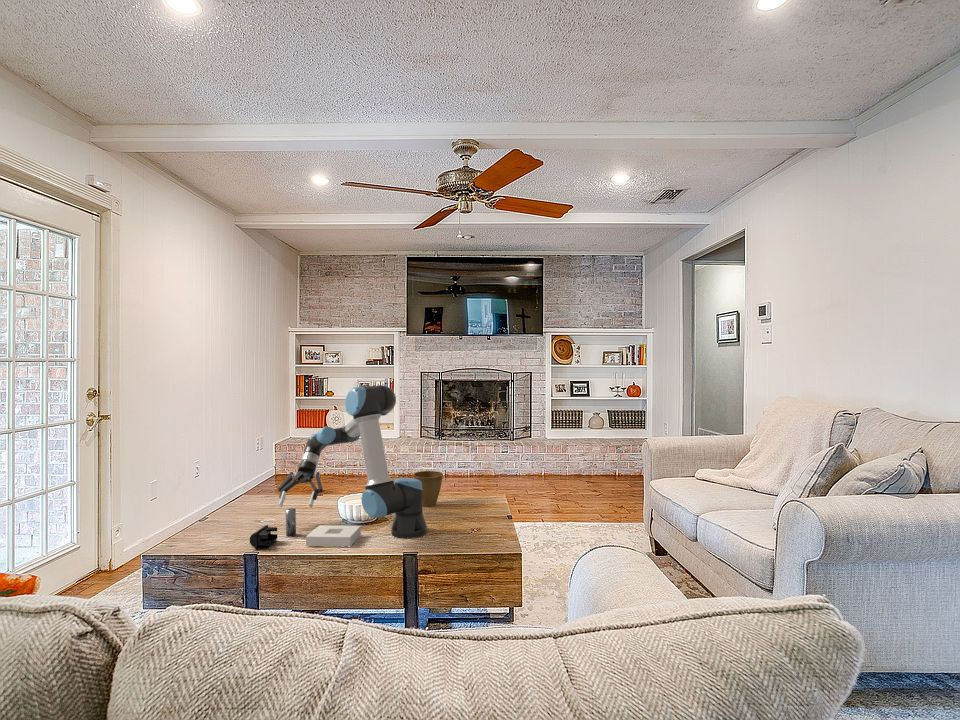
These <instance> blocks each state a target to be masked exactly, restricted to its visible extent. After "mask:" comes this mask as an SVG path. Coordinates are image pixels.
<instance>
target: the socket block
mask: <svg viewBox="0 0 960 720" xmlns="http://www.w3.org/2000/svg"><path fill="white" fill-rule="evenodd" d="M361 531H362V529H361V525H321V524H320V525H318V526H317V527H316V528H314V529H313V530H312V531H311V532H310V533H309V534H307V536H305V541H306V542H305V543H306V544H305V545H306V546H308V547H309V546H351V545H352V544H353V543H356V542H357V540H358V539H359V538H360V537H361V536H360V535H362V534H361V533H362V532H361ZM359 536H360V537H359ZM358 537H359V538H358ZM357 538H358V539H357ZM356 539H357V540H356ZM353 545H354V544H353ZM353 545H352V546H353ZM306 546H305V547H306ZM352 546H351V547H352ZM308 547H307V548H308ZM309 548H310V547H309Z"/></svg>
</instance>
